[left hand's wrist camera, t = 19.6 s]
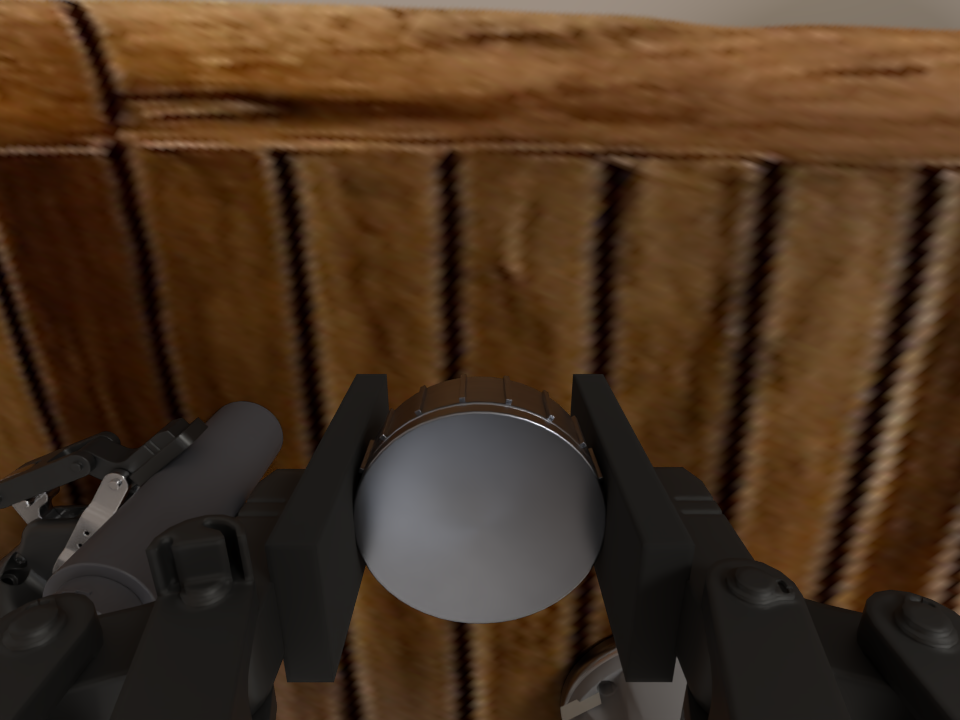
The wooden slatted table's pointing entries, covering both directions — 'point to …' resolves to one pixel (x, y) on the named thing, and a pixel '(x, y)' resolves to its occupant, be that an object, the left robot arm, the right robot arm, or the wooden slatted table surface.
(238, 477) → the dark grey cylinder
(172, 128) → the wooden slatted table surface
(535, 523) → the lid
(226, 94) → the wooden slatted table surface
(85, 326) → the wooden slatted table surface
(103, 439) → the right robot arm
